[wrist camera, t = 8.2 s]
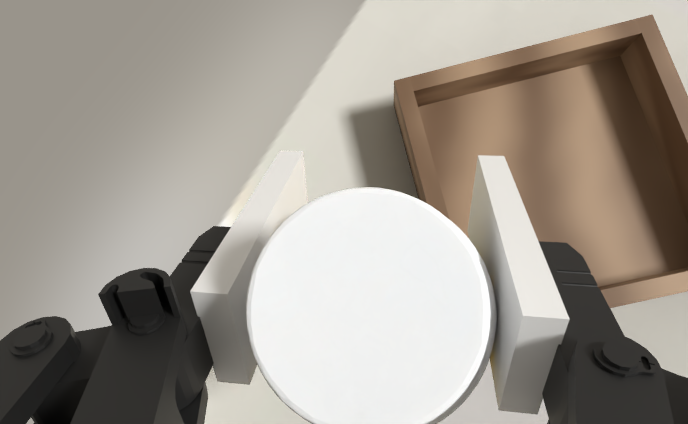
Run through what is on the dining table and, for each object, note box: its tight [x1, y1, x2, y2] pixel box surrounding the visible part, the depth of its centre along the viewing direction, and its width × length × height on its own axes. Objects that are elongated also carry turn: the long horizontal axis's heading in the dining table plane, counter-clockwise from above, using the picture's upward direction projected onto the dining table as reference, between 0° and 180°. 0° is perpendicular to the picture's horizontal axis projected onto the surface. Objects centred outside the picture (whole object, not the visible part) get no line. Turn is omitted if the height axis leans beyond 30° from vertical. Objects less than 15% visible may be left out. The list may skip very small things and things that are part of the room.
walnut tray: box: [394, 15, 688, 308], centre depth 27 cm, size 16×16×4 cm
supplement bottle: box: [246, 187, 497, 424], centre depth 12 cm, size 5×5×10 cm
